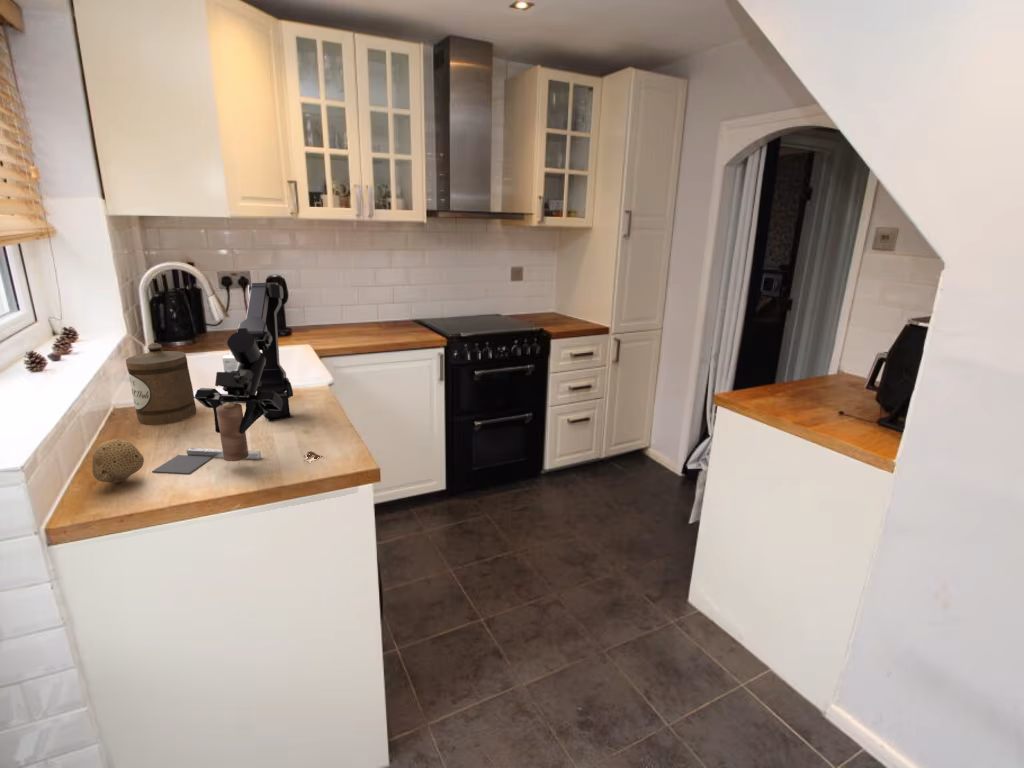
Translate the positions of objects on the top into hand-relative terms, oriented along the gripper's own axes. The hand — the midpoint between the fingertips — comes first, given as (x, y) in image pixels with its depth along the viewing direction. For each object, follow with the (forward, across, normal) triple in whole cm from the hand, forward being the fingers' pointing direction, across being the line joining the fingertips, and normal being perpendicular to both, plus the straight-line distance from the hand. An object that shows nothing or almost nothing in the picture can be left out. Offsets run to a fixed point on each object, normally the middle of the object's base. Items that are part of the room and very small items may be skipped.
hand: (229, 432), depth 123 cm
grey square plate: (+6, -13, +8) cm, 16 cm away
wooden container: (-16, -39, +30) cm, 52 cm away
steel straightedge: (+2, -7, +12) cm, 13 cm away
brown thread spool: (+4, 0, +6) cm, 7 cm away
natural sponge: (+12, -21, +1) cm, 25 cm away
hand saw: (-3, +8, +17) cm, 19 cm away
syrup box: (-29, -27, +43) cm, 58 cm away
